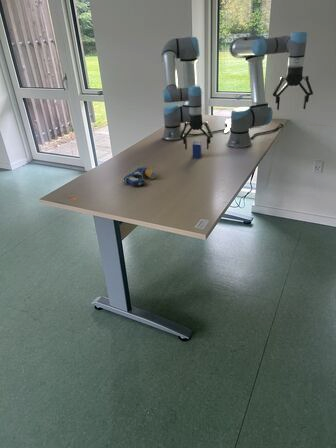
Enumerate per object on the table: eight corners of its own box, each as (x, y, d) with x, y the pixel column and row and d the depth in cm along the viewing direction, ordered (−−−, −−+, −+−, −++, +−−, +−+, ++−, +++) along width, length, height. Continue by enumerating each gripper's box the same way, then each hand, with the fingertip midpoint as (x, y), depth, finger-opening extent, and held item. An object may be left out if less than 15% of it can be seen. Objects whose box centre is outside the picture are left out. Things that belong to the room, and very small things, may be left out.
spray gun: (161, 173, 192) (139, 170, 198) (160, 166, 189) (138, 164, 196) (143, 189, 176) (120, 186, 183) (142, 181, 174) (118, 179, 180)
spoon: (232, 135, 248) (232, 132, 246) (218, 134, 251) (218, 132, 250) (241, 119, 274) (241, 117, 273) (228, 119, 278) (228, 117, 276)
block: (192, 158, 210) (192, 144, 205) (194, 154, 214) (193, 141, 210) (200, 158, 208) (200, 144, 204) (201, 154, 213) (201, 141, 209)
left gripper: (173, 116, 197) (176, 150, 208) (216, 114, 192) (216, 150, 203) (176, 113, 203) (178, 147, 214) (217, 111, 198) (217, 146, 209)
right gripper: (270, 68, 171) (267, 111, 182) (323, 65, 166) (316, 109, 177) (269, 66, 177) (266, 108, 188) (320, 63, 172) (314, 106, 183)
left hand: (196, 148), depth 209 cm, fingers open, 13 cm apart
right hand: (290, 109), depth 182 cm, fingers open, 13 cm apart
